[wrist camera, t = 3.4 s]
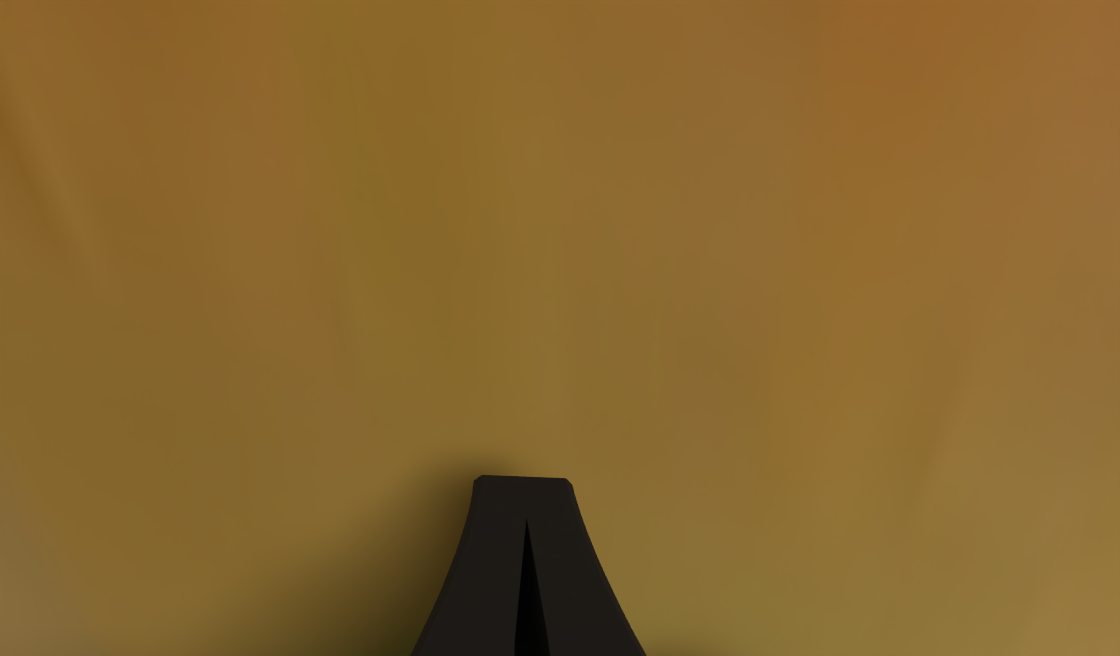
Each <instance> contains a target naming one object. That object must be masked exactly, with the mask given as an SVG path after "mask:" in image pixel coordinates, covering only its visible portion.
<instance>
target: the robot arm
mask: <svg viewBox="0 0 1120 656" xmlns="http://www.w3.org/2000/svg"><path fill="white" fill-rule="evenodd" d="M410 656H646V654H645V652H644V650H643V648H642V647H641V645H640V643H639V641H638V639H637V638H636V636H635V634H634V632H633V630H632V628H631V626H630V625H629V623H628V621H627V619H626V617H625V615H624V613H623V611H622V609H621V607H620V605H619V603H618V601H617V599H616V596H615V594H614V592H613V590H612V588H611V586H610V584H609V582H608V580H607V577H606V575H605V573H604V571H603V569H602V567H601V564H600V562H599V560H598V557H597V555H596V553H595V550H594V548H593V545H592V543H591V540H590V538H589V535H588V533H587V530H586V527H585V525H584V522H583V519H582V516H581V513H580V510H579V507H578V504H577V501H576V497H575V494H574V490H573V486H572V484H571V483H570V482H569V481H568V480H567V479H566V478H544V477H519V476H493V475H482V476H480V477H478V478H477V479H475V480H474V484H473V493H472V499H471V503H470V508H469V512H468V516H467V520H466V523H465V527H464V530H463V533H462V536H461V539H460V542H459V545H458V548H457V551H456V554H455V556H454V559H453V561H452V564H451V566H450V569H449V572H448V574H447V577H446V579H445V582H444V584H443V587H442V589H441V592H440V594H439V596H438V599H437V601H436V603H435V605H434V607H433V610H432V612H431V614H430V616H429V618H428V620H427V622H426V624H425V626H424V628H423V631H422V633H421V635H420V637H419V639H418V641H417V643H416V645H415V647H414V649H413V651H412V653H411V655H410Z"/></svg>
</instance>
